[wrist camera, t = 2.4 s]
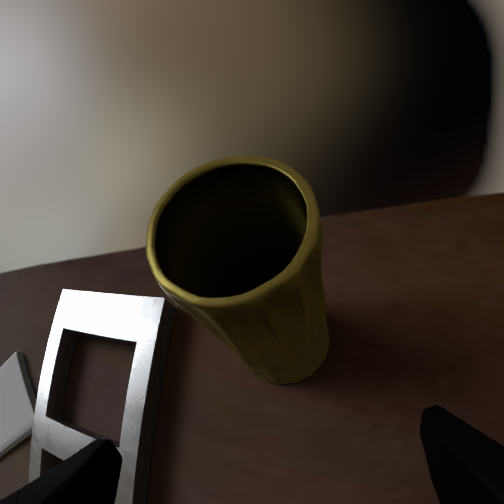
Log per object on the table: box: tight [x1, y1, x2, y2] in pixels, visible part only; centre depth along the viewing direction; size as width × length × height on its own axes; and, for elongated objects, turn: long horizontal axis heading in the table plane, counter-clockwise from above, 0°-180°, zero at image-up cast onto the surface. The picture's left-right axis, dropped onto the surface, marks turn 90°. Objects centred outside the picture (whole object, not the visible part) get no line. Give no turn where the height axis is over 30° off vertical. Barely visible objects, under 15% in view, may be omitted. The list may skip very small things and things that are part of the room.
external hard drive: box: [0, 351, 36, 457], centre depth 21 cm, size 2×8×12 cm
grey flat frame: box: [29, 289, 176, 504], centre depth 18 cm, size 11×26×2 cm, turn 173°
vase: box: [146, 156, 329, 384], centre depth 15 cm, size 6×6×14 cm
